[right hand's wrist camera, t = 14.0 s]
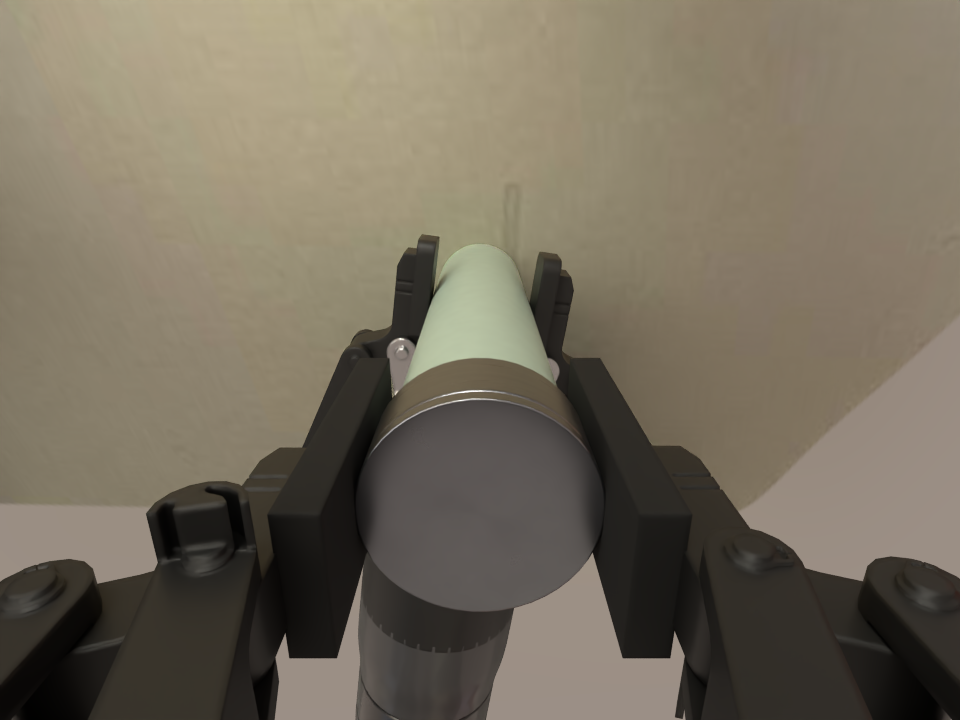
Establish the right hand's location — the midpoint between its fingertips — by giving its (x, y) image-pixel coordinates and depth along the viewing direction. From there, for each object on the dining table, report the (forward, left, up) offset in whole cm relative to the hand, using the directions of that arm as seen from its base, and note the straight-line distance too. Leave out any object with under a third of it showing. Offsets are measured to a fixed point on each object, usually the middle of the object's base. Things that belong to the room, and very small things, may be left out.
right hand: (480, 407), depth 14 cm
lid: (0, 0, +4) cm, 4 cm away
